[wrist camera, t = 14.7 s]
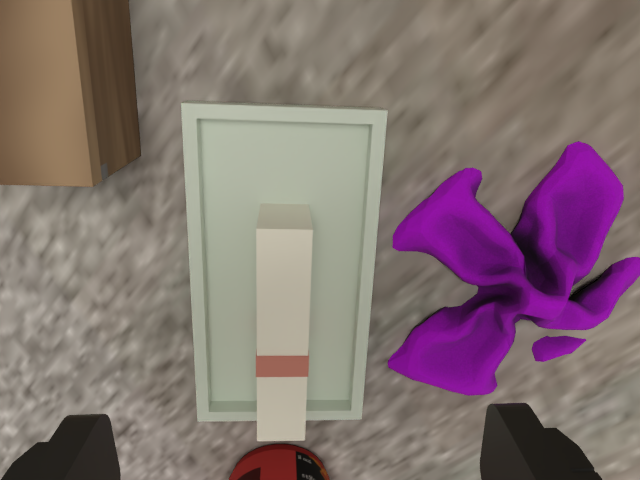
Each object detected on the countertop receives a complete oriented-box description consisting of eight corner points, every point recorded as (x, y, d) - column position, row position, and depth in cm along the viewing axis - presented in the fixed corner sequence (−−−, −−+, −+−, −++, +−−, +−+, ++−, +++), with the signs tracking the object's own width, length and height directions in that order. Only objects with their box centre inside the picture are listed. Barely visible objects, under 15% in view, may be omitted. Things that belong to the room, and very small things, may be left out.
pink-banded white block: (309, 204, 31) (313, 230, 26) (303, 390, 36) (305, 441, 31) (259, 203, 31) (255, 229, 26) (259, 391, 36) (256, 442, 31)
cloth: (398, 413, 39) (418, 475, 33) (346, 189, 32) (359, 217, 26) (679, 344, 38) (749, 395, 32) (682, 103, 32) (770, 112, 26)
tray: (381, 107, 30) (387, 110, 28) (357, 403, 37) (361, 419, 36) (186, 100, 29) (180, 103, 27) (201, 404, 36) (197, 421, 35)
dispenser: (125, -35, 27) (62, -73, 19) (140, 155, 30) (92, 186, 22) (-4, -42, 26) (-120, -84, 19) (27, 152, 29) (-61, 183, 22)
